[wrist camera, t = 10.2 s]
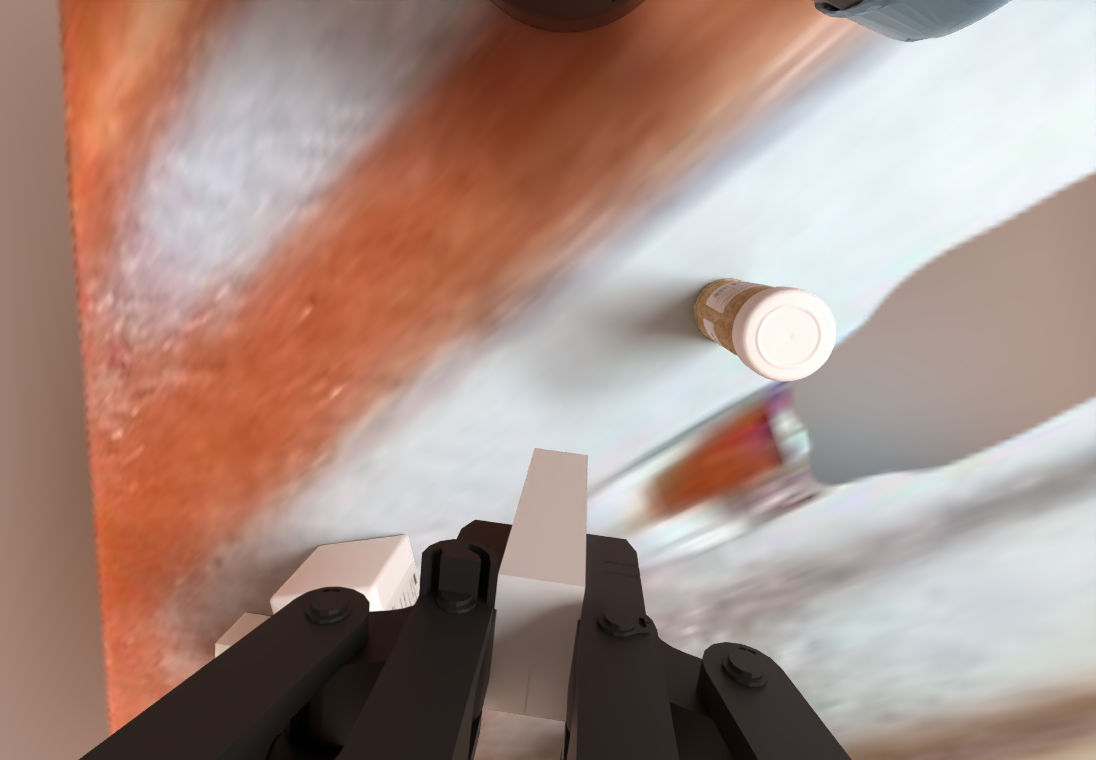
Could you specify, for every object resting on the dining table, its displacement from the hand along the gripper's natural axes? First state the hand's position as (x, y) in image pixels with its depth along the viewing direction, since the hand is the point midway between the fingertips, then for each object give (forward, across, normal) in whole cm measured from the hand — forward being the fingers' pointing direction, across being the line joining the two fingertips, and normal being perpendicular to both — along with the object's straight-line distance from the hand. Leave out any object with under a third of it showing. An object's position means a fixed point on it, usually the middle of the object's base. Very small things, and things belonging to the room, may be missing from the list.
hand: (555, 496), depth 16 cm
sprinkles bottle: (+27, +10, +4) cm, 29 cm away
